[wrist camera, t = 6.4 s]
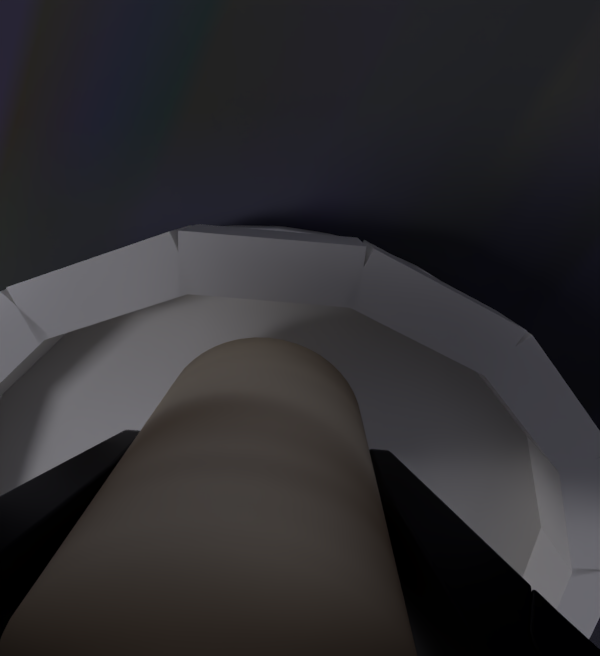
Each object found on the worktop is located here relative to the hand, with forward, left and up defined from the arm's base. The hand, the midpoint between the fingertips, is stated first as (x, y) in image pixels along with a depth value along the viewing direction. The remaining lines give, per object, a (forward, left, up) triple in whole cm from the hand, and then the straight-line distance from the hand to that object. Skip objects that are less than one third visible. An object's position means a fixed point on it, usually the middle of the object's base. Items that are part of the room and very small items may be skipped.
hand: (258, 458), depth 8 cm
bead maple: (0, 0, -1) cm, 1 cm away
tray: (0, +5, -4) cm, 6 cm away
